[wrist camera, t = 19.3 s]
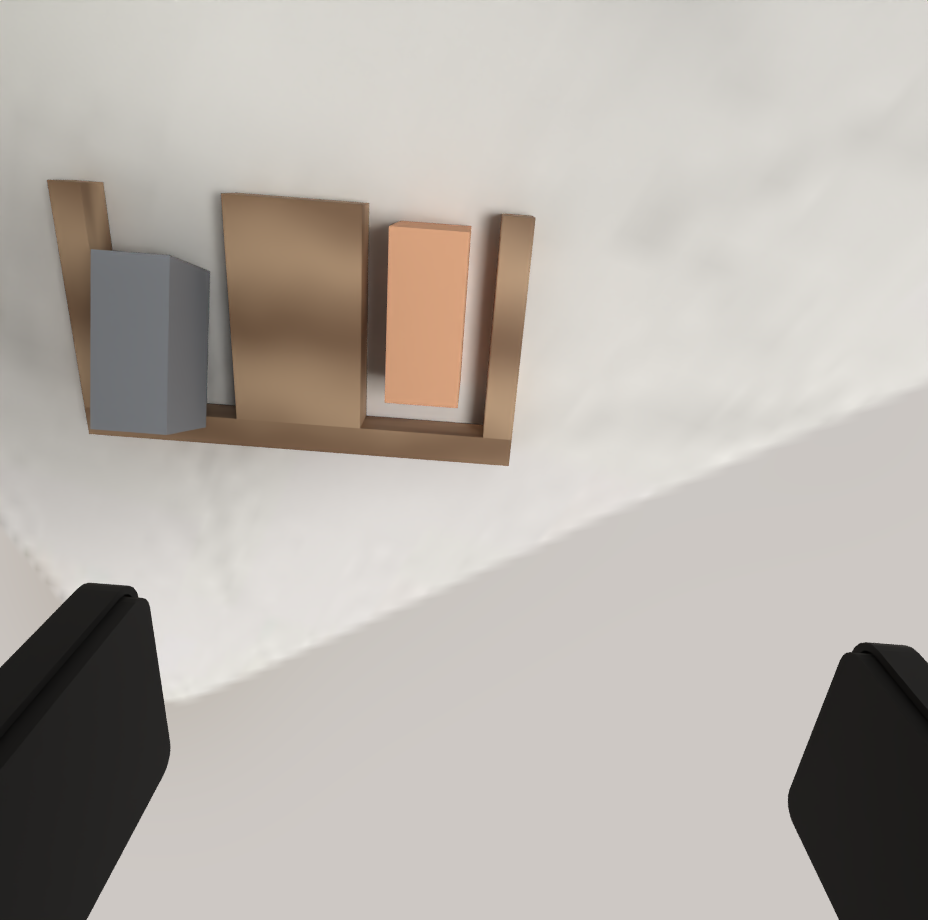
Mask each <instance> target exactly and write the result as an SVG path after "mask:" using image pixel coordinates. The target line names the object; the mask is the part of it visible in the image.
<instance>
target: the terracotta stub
mask: <svg viewBox="0 0 928 920" xmlns="http://www.w3.org/2000/svg"><path fill="white" fill-rule="evenodd" d="M470 238H471V226H462V225H449V224H436V223H423V222H409V221H399V222H397V223H395V224H393V225H390V226H389V245H388V287H387V329H386V371H385V403H396V404H410V405H423V406H436V407H449V408H458V399H459V389H460V379H461V365H462V351H463V337H464V323H465V309H466V295H467V280H468V266H469V252H470Z"/></svg>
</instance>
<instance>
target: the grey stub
mask: <svg viewBox="0 0 928 920" xmlns="http://www.w3.org/2000/svg"><path fill="white" fill-rule="evenodd" d="M209 286H210V271H207V270H205V269H203V268H200V267H198V266H195V265H193V264H190V263H188V262H185V261H183V260H180V259H178V258H175V257H173V256H170V255H160V254H147V253H134V252H121V251H109V250H96V249H91V328H90V429H95V430H108V431H122V432H135V433H148V434H161V435H169V434H174V433H179V432H184V431H189V430H194V429H199V428H205V427H206V406H207V366H208V326H209Z"/></svg>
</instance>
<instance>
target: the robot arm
mask: <svg viewBox="0 0 928 920" xmlns="http://www.w3.org/2000/svg"><path fill="white" fill-rule="evenodd" d="M169 756H170V739H169V732H168V726H167V719H166V712H165V705H164V699H163V692H162V685H161V678H160V672H159V665H158V658H157V652H156V645H155V638H154V631H153V625H152V618H151V611H150V606H149V603H148V601H147V600H146V599H144V598H138V594H137V592H136V590H135V589H134V588H133V587H131V586H124V585H111V584H98V583H86V584H83V585H82V586H80V587H79V588H78V589H77V590H76V591H75V592H74V593H73V594H72V595H71V596H70V597H69V598H68V599H67V600H66V601H65V602H64V603H63V604H62V605H61V606H60V607H59V608H58V609H57V610H56V611H55V612H54V613H53V614H52V615H51V616H50V617H49V619H47V620H46V622H45V623H44V624H43V625H42V626H41V627H40V628H39V629H38V630H37V631H36V632H35V633H34V634H33V635H32V636H31V637H30V638H29V639H28V640H27V641H26V642H25V643H24V644H23V645H22V646H21V647H20V648H19V649H18V650H17V651H16V652H15V653H14V654H13V655H12V656H11V657H10V658H9V659H8V660H7V661H6V662H5V663H4V664H3V665H2V666H1V668H0V920H86V919H87V918H88V916H89V914H90V912H91V910H92V909H93V907H94V905H95V903H96V901H97V899H98V897H99V895H100V893H101V891H102V890H103V888H104V886H105V884H106V882H107V880H108V878H109V877H110V875H111V873H112V871H113V869H114V867H115V865H116V863H117V861H118V860H119V858H120V856H121V854H122V852H123V850H124V848H125V846H126V845H127V843H128V841H129V839H130V837H131V835H132V833H133V831H134V829H135V827H136V826H137V824H138V822H139V820H140V818H141V816H142V814H143V813H144V811H145V809H146V807H147V805H148V803H149V801H150V799H151V797H152V796H153V793H154V792H155V790H156V788H157V786H158V784H159V782H160V781H161V779H162V776H163V775H164V773H165V770H166V768H167V764H168V760H169ZM788 808H789V813H790V817H791V820H792V822H793V824H794V826H795V829H796V831H797V833H798V835H799V837H800V839H801V841H802V843H803V845H804V847H805V849H806V851H807V854H808V856H809V858H810V860H811V862H812V864H813V866H814V868H815V870H816V872H817V874H818V877H819V879H820V881H821V883H822V885H823V887H824V889H825V891H826V893H827V895H828V898H829V900H830V901H831V904H832V906H833V908H834V910H835V912H836V914H837V916H838V918H839V920H928V663H927V662H926V661H925V660H924V658H923V657H922V656H921V655H920V654H919V653H918V652H916V651H915V650H914V649H913V648H911V647H908V646H905V645H892V644H880V643H867V642H865V643H860V644H858V645H857V646H856V647H855V648H854V650H853V651H852V652H849V653H846V654H844V655H843V656H842V658H841V660H840V662H839V665H838V667H837V670H836V672H835V675H834V677H833V680H832V682H831V685H830V688H829V690H828V693H827V695H826V698H825V700H824V703H823V706H822V708H821V711H820V713H819V716H818V718H817V721H816V723H815V726H814V729H813V731H812V734H811V736H810V739H809V741H808V744H807V746H806V749H805V751H804V754H803V757H802V759H801V762H800V764H799V767H798V769H797V772H796V775H795V777H794V780H793V782H792V785H791V787H790V790H789V794H788Z"/></svg>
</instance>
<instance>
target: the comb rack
mask: <svg viewBox="0 0 928 920" xmlns="http://www.w3.org/2000/svg"><path fill="white" fill-rule="evenodd" d="M47 183H48V189H49V195H50V201H51V207H52V213H53V219H54V225H55V231H56V237H57V243H58V249H59V255H60V261H61V267H62V273H63V279H64V285H65V291H66V297H67V303H68V309H69V315H70V321H71V328H72V334H73V340H74V346H75V352H76V358H77V364H78V370H79V376H80V382H81V388H82V394H83V400H84V406H85V412H86V418H87V424H88V430H89V434H97V435H111V436H124V437H137V438H150V439H163V440H176V441H189V442H202V443H215V444H228V445H241V446H254V447H267V448H280V449H294V450H307V451H320V452H333V453H346V454H359V455H372V456H385V457H398V458H411V459H424V460H437V461H450V462H463V463H477V464H490V465H503V466H509V458H510V449H511V440H512V430H513V421H514V412H515V402H516V393H517V384H518V375H519V365H520V356H521V347H522V338H523V328H524V319H525V310H526V301H527V291H528V282H529V273H530V264H531V254H532V245H533V236H534V227H535V217H533V216H526V215H513V214H502V217H501V228H500V239H499V251H498V262H497V273H496V284H495V296H494V307H493V318H492V330H491V341H490V352H489V363H488V375H487V386H486V397H485V408H484V420H483V425H479V424H466V423H453V422H440V421H427V420H414V419H401V418H388V417H375V416H366V397H367V323H368V248H369V203H359V202H347V201H334V200H321V199H308V198H295V197H283V196H270V195H257V194H244V193H221V201H222V215H223V229H224V244H225V258H226V272H227V287H228V301H229V315H230V330H231V344H232V359H233V373H234V387H235V402H236V406H231V405H218V404H207V406H206V427H205V428H199V429H194V430H189V431H184V432H179V433H174V434H169V435H161V434H148V433H135V432H122V431H108V430H95V429H90V328H91V249H96V250H109V251H112V245H111V237H110V230H109V223H108V215H107V208H106V200H105V193H104V186H103V182H90V181H77V180H47Z"/></svg>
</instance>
